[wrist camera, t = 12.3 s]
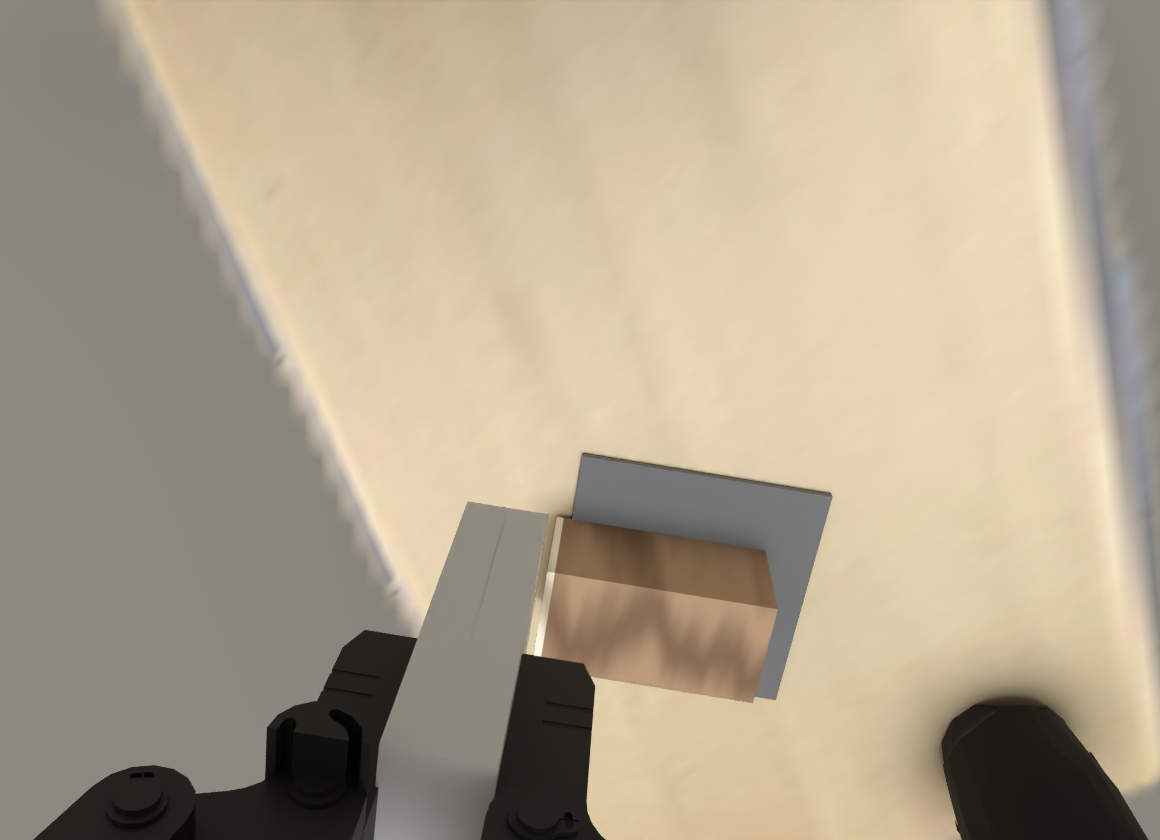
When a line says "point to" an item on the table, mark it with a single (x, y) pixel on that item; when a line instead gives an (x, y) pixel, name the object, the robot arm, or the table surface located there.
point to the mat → (716, 527)
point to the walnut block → (657, 609)
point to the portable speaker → (1029, 780)
